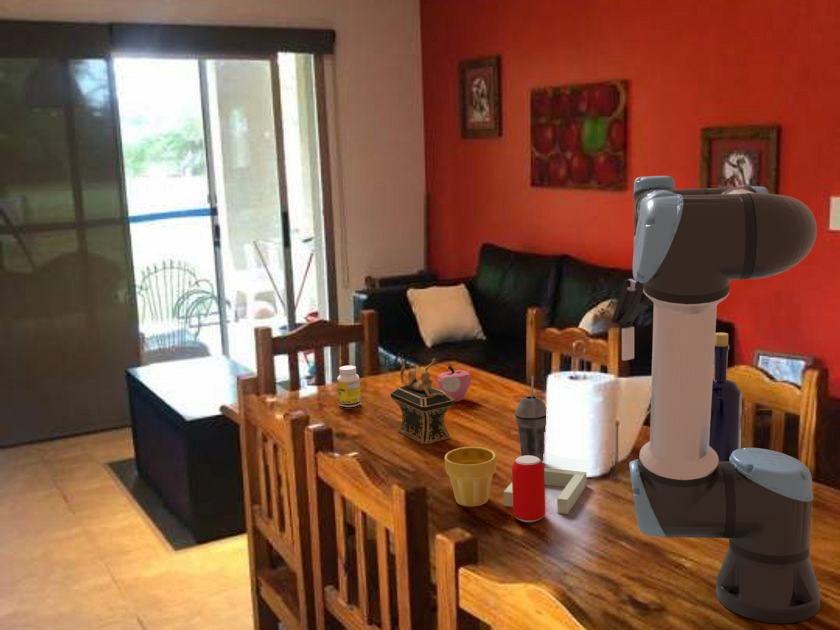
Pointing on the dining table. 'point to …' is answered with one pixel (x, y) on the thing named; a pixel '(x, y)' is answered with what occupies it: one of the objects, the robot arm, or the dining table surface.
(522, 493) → the beverage can
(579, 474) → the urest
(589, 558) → the dining table surface
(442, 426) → the decorative box
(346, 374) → the pill bottle
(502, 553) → the dining table surface
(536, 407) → the beverage cup
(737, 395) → the bottle
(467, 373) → the apple
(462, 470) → the plant pot
